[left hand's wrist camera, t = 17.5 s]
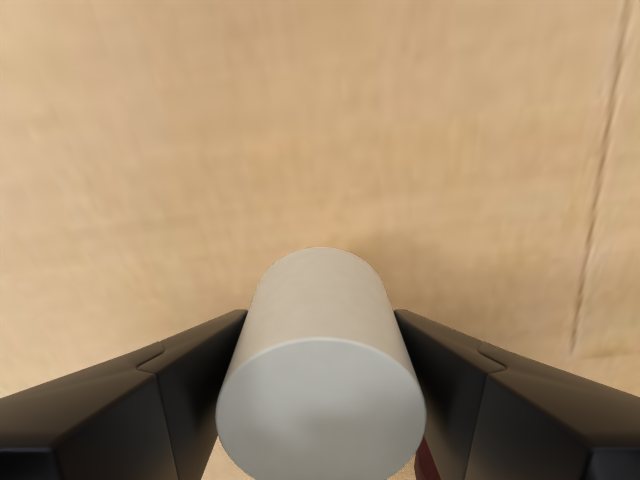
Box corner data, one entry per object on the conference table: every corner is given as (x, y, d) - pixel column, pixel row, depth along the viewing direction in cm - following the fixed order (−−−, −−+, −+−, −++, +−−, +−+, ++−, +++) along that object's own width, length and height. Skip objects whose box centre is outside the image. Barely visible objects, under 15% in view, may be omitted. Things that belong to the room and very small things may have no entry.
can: (379, 235, 12) (419, 321, 7) (393, 352, 13) (433, 485, 9) (239, 258, 12) (185, 356, 7) (270, 369, 13) (244, 508, 9)
